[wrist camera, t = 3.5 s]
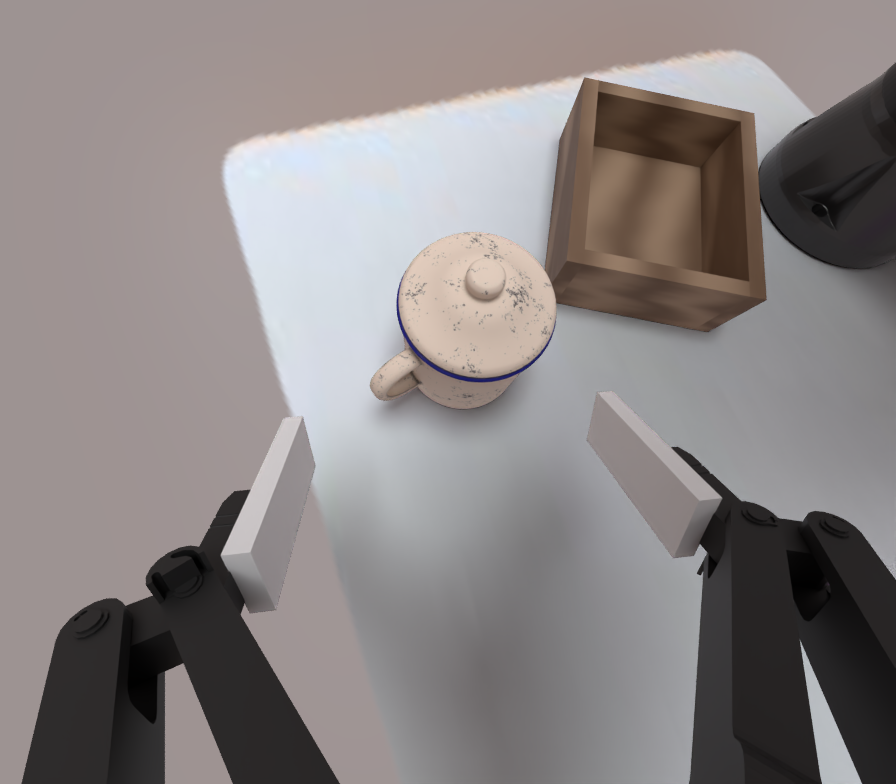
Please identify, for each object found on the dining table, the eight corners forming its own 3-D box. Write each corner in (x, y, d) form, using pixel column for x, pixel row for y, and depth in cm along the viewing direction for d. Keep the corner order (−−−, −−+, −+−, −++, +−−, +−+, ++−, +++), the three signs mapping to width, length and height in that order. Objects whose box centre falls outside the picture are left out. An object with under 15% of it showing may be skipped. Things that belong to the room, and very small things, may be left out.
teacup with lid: (471, 284, 31) (501, 166, 19) (541, 369, 29) (617, 295, 18) (348, 363, 28) (300, 280, 17) (417, 460, 27) (415, 440, 16)
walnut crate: (704, 169, 36) (754, 113, 30) (707, 332, 31) (766, 299, 26) (559, 139, 35) (584, 77, 30) (541, 299, 31) (566, 260, 26)
